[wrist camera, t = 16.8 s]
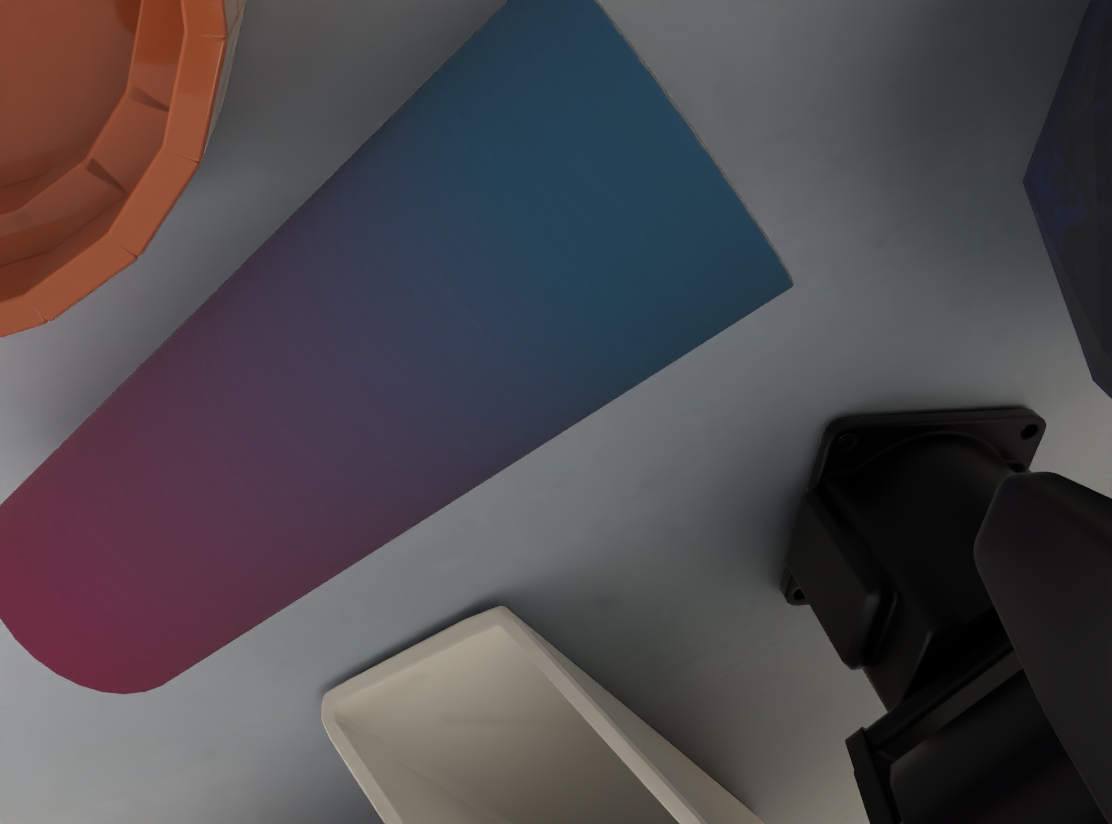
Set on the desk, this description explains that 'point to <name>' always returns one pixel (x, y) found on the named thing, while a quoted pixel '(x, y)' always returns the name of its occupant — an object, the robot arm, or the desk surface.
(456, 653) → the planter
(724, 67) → the desk surface
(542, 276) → the cup
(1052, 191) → the decorative orb
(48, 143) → the bowl
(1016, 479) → the robot arm
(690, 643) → the desk surface
